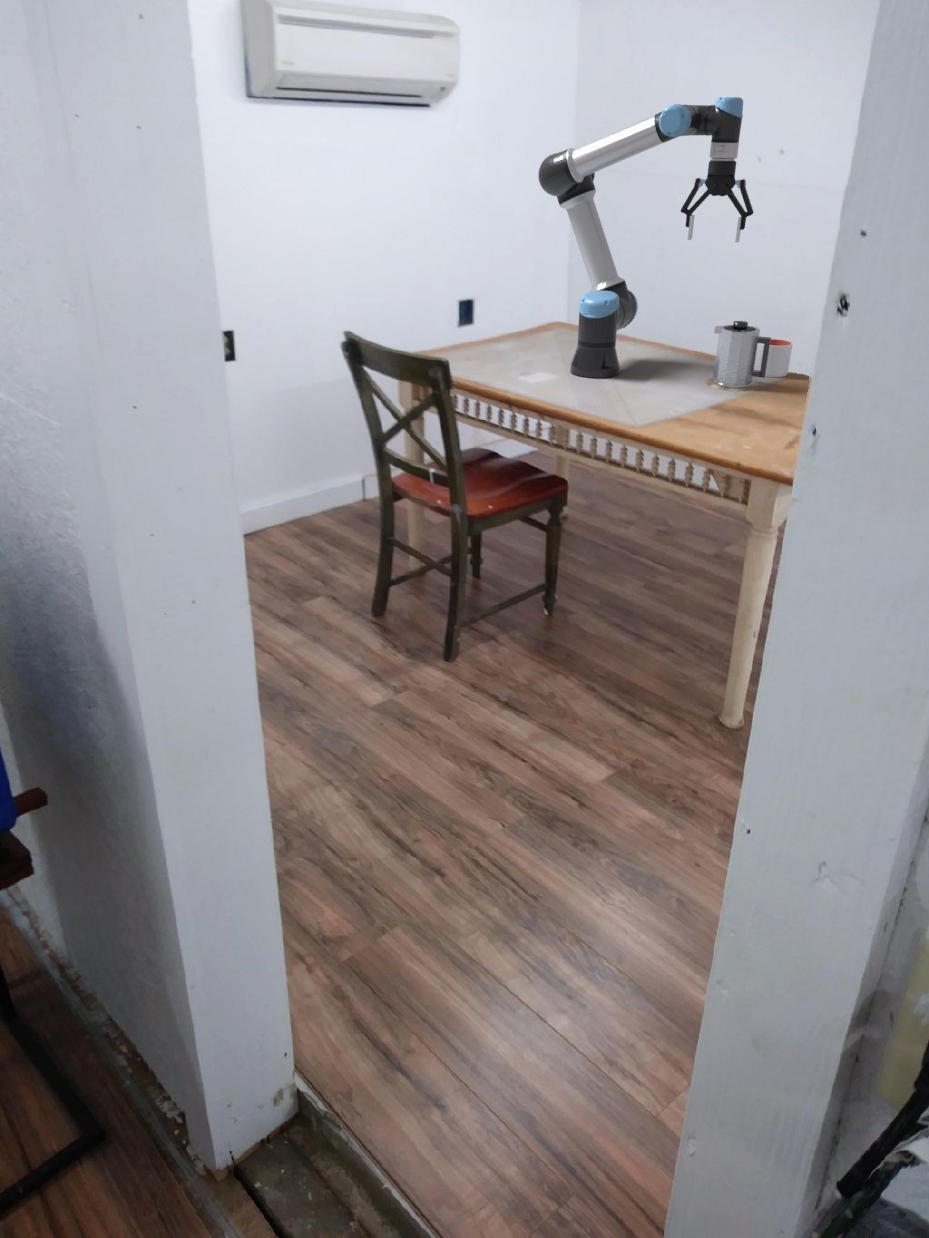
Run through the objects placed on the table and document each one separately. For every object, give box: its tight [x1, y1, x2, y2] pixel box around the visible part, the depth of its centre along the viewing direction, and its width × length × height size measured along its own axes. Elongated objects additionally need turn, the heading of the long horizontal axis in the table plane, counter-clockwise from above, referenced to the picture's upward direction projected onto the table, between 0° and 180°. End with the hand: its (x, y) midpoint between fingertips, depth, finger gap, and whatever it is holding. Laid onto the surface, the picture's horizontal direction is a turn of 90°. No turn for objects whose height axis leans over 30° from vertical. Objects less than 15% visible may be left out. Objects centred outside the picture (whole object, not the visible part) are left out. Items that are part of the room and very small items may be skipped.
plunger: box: [732, 320, 749, 332], centre depth 278 cm, size 8×8×11 cm
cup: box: [754, 338, 793, 378], centre depth 294 cm, size 10×10×10 cm
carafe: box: [712, 324, 772, 389], centre depth 280 cm, size 16×11×16 cm
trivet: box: [704, 377, 761, 392], centre depth 284 cm, size 16×16×1 cm
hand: (713, 240), depth 278 cm, fingers open, 13 cm apart
